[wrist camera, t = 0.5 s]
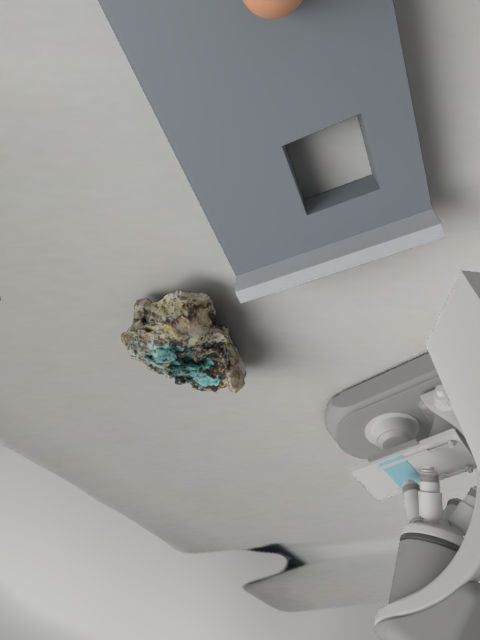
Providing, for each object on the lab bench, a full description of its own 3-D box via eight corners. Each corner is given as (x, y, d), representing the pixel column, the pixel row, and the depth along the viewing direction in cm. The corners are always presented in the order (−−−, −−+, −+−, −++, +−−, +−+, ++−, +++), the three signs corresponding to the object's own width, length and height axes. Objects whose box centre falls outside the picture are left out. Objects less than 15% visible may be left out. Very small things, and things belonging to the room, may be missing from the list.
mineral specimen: (115, 308, 44) (110, 384, 40) (186, 266, 40) (190, 346, 36) (199, 351, 53) (202, 418, 48) (264, 321, 48) (275, 390, 44)
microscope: (288, 408, 53) (307, 770, 29) (446, 335, 45) (648, 741, 21) (336, 456, 58) (387, 799, 34) (486, 398, 50) (685, 783, 26)
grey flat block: (93, -40, 29) (63, -41, 24) (344, -191, 24) (362, -225, 20) (243, 269, 42) (240, 303, 37) (423, 206, 37) (444, 237, 33)
